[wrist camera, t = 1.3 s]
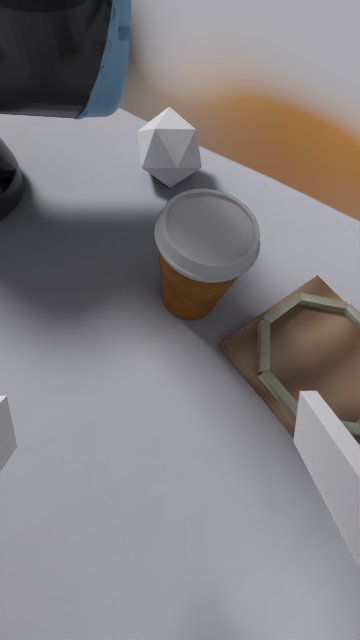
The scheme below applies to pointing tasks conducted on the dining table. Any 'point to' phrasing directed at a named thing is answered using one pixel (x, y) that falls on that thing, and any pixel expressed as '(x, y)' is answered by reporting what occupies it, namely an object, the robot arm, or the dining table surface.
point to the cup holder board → (303, 354)
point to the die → (169, 148)
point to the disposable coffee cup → (203, 249)
